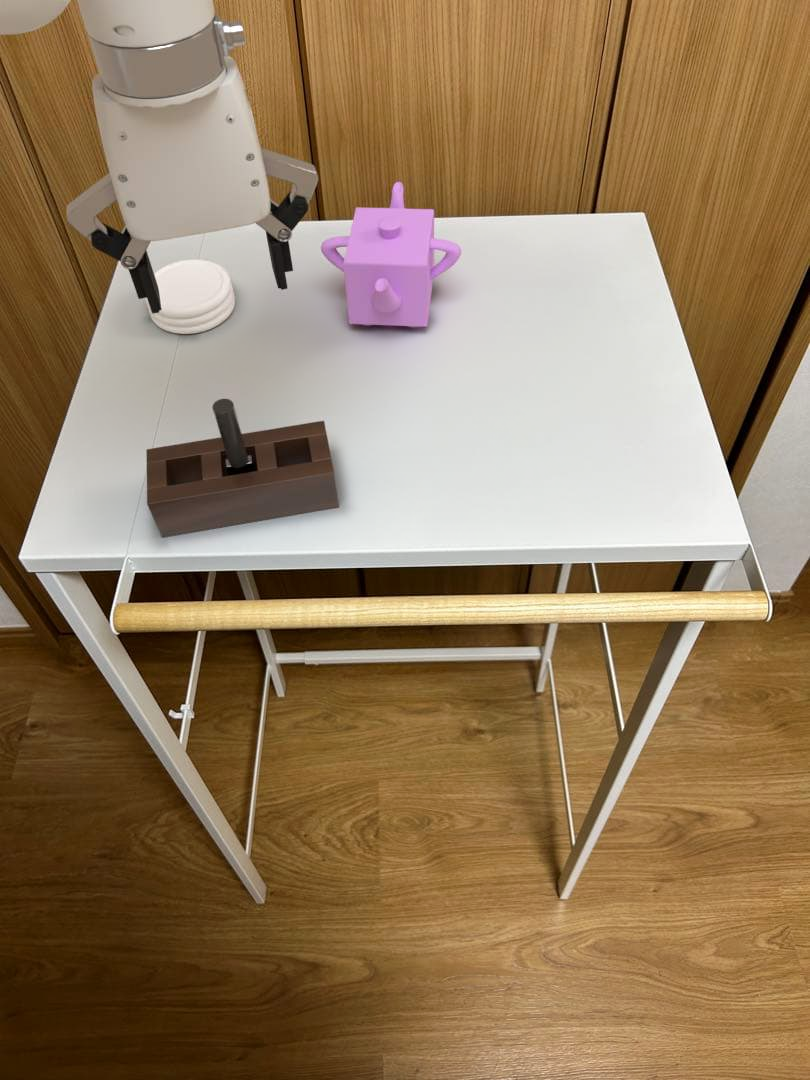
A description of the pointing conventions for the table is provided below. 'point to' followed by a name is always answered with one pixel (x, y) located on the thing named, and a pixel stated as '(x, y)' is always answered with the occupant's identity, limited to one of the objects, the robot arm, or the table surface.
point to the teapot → (390, 263)
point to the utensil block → (240, 480)
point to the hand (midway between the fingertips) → (218, 290)
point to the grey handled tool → (232, 438)
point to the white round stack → (192, 296)
